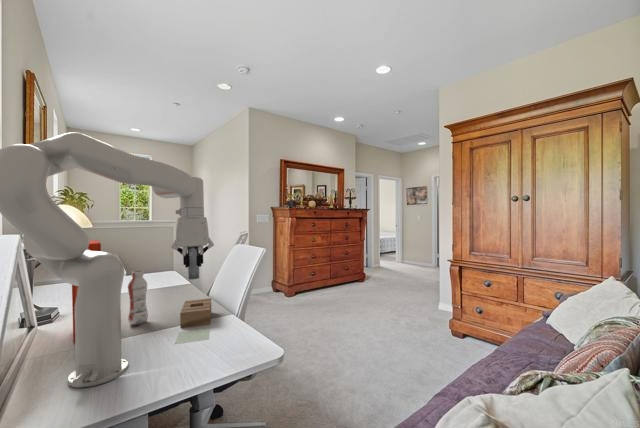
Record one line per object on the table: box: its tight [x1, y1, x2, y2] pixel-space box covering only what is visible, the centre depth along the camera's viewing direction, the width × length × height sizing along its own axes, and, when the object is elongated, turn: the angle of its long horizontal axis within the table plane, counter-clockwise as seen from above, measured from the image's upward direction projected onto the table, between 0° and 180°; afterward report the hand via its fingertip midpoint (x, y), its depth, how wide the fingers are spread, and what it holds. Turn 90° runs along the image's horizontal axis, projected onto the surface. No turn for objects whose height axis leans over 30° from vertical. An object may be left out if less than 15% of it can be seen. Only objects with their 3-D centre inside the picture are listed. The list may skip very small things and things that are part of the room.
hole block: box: [179, 297, 212, 329], centre depth 115 cm, size 16×10×6 cm, turn 19°
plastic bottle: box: [127, 270, 149, 326], centre depth 112 cm, size 6×7×20 cm
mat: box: [174, 328, 211, 345], centre depth 99 cm, size 10×10×1 cm
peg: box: [187, 246, 200, 280], centre depth 102 cm, size 4×4×14 cm
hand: (193, 265), depth 102 cm, fingers closed on peg, 3 cm apart
